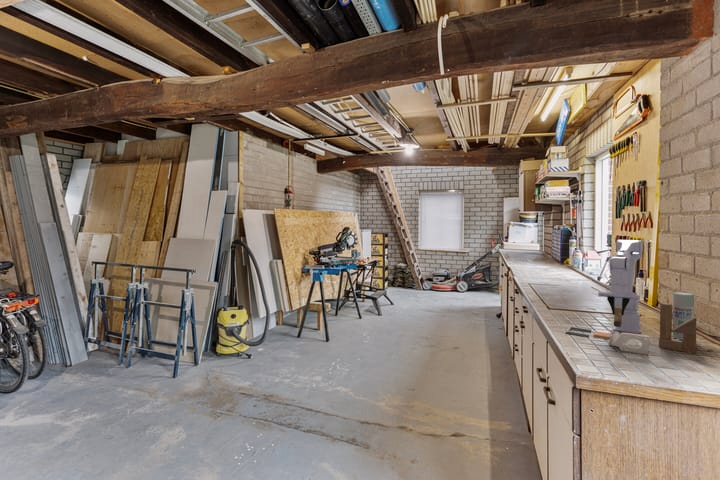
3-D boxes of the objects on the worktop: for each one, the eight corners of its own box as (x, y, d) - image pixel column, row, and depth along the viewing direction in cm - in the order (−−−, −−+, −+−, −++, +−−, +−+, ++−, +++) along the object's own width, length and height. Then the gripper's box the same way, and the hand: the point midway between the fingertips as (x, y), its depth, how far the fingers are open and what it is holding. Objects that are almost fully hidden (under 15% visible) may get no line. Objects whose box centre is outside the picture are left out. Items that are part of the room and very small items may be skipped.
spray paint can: (692, 338, 148) (693, 293, 147) (693, 342, 143) (694, 295, 142) (672, 335, 152) (673, 291, 151) (672, 339, 147) (673, 293, 147)
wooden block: (695, 353, 131) (697, 307, 130) (658, 347, 138) (659, 303, 137) (695, 351, 133) (696, 306, 133) (658, 344, 141) (660, 302, 140)
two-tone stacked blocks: (621, 323, 152) (622, 306, 152) (620, 327, 147) (621, 309, 146) (614, 322, 154) (615, 305, 153) (613, 326, 148) (614, 308, 148)
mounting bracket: (609, 352, 138) (610, 332, 134) (608, 342, 143) (609, 322, 138) (647, 358, 131) (650, 337, 127) (644, 347, 136) (647, 326, 132)
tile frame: (591, 331, 159) (591, 329, 159) (588, 337, 151) (588, 335, 151) (569, 327, 165) (569, 325, 165) (565, 333, 156) (565, 331, 156)
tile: (610, 337, 152) (610, 333, 152) (610, 340, 148) (610, 337, 148) (594, 334, 156) (594, 331, 156) (593, 337, 152) (593, 334, 151)
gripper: (597, 283, 151) (597, 313, 151) (639, 287, 141) (638, 319, 142) (599, 281, 156) (598, 310, 157) (640, 284, 147) (639, 315, 147)
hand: (618, 314), depth 150 cm, fingers closed on two-tone stacked blocks, 2 cm apart
